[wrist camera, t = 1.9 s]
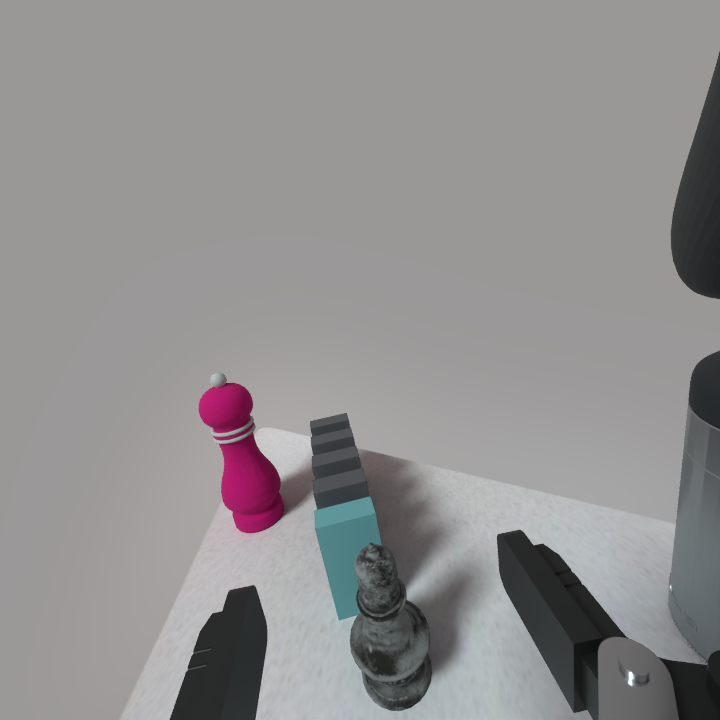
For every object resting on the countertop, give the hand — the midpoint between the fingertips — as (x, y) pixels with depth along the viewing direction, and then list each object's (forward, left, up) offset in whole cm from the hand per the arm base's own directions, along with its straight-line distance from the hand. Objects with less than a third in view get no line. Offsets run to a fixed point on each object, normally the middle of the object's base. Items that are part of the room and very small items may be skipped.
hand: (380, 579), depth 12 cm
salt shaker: (+5, -9, -20) cm, 23 cm away
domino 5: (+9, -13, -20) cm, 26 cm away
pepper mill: (+27, -21, -20) cm, 40 cm away
